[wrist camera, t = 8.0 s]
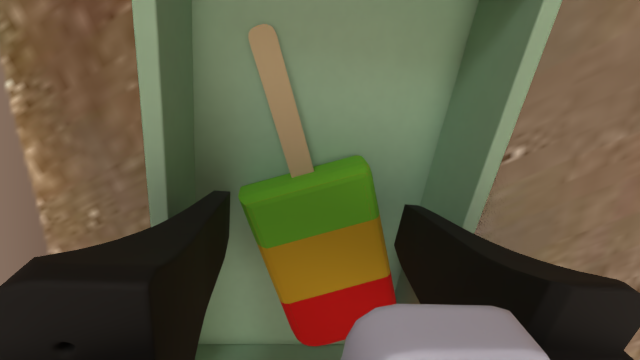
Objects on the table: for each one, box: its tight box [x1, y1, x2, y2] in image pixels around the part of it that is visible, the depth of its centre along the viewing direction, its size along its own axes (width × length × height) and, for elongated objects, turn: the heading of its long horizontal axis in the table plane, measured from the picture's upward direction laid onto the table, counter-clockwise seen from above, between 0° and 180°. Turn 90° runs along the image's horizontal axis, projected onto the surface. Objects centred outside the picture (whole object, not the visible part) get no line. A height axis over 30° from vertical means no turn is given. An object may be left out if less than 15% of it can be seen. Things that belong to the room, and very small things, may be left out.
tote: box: [132, 0, 562, 360], centre depth 13 cm, size 20×12×4 cm, turn 172°
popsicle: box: [238, 24, 396, 346], centre depth 14 cm, size 6×15×2 cm, turn 14°
